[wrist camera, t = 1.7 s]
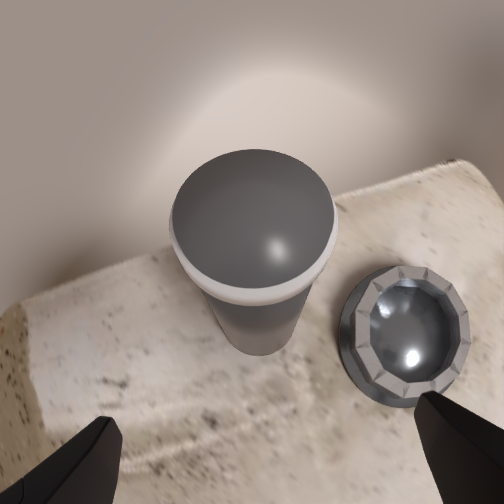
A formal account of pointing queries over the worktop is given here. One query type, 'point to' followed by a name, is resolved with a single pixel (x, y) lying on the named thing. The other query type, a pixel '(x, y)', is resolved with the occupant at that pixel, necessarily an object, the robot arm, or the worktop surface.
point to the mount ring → (403, 335)
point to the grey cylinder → (254, 242)
